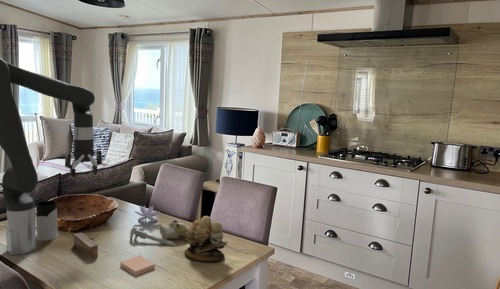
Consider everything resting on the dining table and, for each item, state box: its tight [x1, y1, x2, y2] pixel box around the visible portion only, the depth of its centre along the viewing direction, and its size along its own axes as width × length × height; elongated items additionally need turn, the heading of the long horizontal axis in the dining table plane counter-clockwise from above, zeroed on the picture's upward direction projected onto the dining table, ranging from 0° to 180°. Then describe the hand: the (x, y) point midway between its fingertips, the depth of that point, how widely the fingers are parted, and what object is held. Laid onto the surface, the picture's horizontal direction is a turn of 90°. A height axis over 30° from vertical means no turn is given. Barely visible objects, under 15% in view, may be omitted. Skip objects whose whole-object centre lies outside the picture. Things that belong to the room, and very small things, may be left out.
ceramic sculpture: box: [159, 219, 189, 240], centre depth 166 cm, size 11×9×15 cm
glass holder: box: [35, 200, 60, 242], centre depth 160 cm, size 9×14×15 cm, turn 89°
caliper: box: [129, 226, 176, 247], centre depth 160 cm, size 21×1×6 cm, turn 80°
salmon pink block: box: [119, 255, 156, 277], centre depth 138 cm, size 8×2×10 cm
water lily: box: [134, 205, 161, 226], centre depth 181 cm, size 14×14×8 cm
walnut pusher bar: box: [73, 232, 99, 259], centre depth 149 cm, size 3×16×5 cm, turn 45°
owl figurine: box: [183, 215, 228, 264], centre depth 149 cm, size 18×12×17 cm, turn 72°
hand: (84, 176), depth 155 cm, fingers open, 8 cm apart
